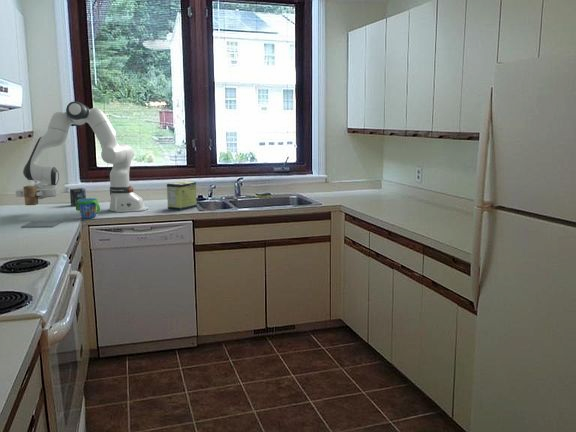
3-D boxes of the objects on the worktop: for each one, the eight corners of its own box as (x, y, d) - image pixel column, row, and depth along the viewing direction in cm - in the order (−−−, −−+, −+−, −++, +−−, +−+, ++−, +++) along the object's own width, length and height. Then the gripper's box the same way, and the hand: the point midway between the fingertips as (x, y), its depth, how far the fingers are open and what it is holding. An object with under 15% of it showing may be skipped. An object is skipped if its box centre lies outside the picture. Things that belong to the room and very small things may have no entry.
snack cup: (71, 217, 313) (69, 199, 312) (86, 214, 322) (85, 197, 321) (90, 220, 306) (89, 202, 304) (105, 217, 315) (104, 199, 313)
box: (74, 206, 350) (73, 189, 348) (70, 205, 354) (69, 189, 352) (86, 205, 355) (85, 188, 353) (82, 204, 359) (81, 187, 357)
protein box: (197, 206, 348) (196, 181, 346) (180, 210, 335) (179, 184, 332) (184, 205, 354) (183, 180, 351) (167, 209, 340) (166, 183, 337)
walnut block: (38, 203, 307) (36, 185, 305) (34, 205, 302) (32, 186, 300) (29, 203, 307) (27, 185, 305) (25, 205, 302) (23, 186, 300)
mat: (62, 221, 302) (62, 220, 302) (53, 227, 288) (53, 226, 288) (32, 222, 301) (32, 221, 301) (21, 227, 288) (21, 226, 287)
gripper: (20, 185, 315) (9, 189, 302) (57, 184, 316) (48, 188, 302) (22, 197, 316) (11, 200, 303) (58, 196, 317) (49, 199, 303)
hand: (30, 194), depth 302 cm, fingers closed on walnut block, 5 cm apart
